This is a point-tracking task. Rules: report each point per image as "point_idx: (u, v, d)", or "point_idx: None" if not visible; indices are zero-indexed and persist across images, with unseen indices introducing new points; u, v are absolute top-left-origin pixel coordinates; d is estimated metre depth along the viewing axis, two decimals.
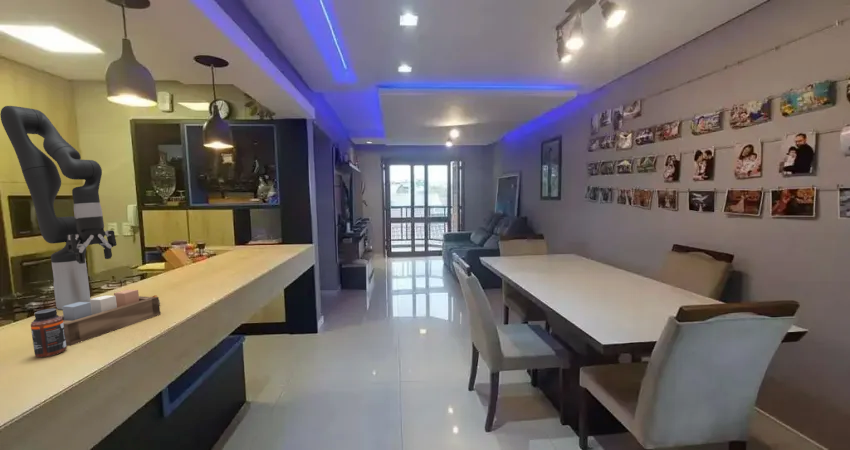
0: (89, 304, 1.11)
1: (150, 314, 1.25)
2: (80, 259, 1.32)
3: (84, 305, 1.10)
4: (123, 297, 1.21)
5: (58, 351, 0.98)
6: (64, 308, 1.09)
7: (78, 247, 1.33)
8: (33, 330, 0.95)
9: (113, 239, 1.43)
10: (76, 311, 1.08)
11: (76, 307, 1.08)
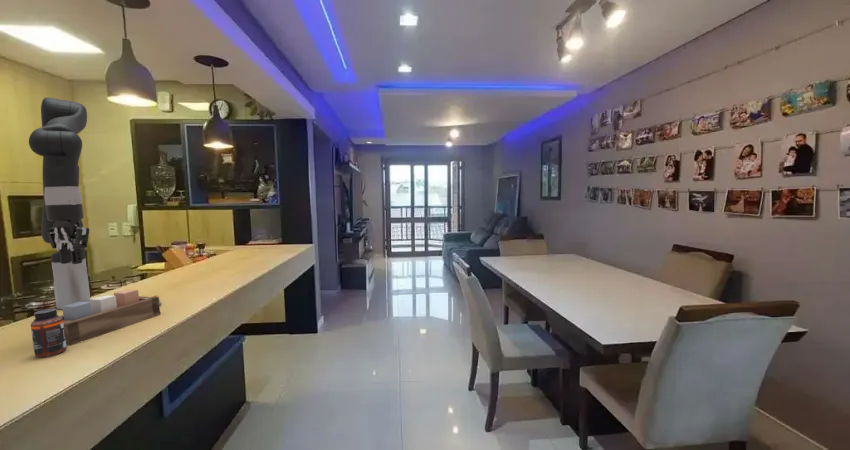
0: (89, 304, 1.11)
1: (150, 314, 1.25)
2: None
3: (84, 305, 1.10)
4: (123, 297, 1.21)
5: (58, 351, 0.98)
6: (64, 308, 1.09)
7: None
8: (33, 330, 0.95)
9: None
10: (76, 311, 1.08)
11: (76, 307, 1.08)
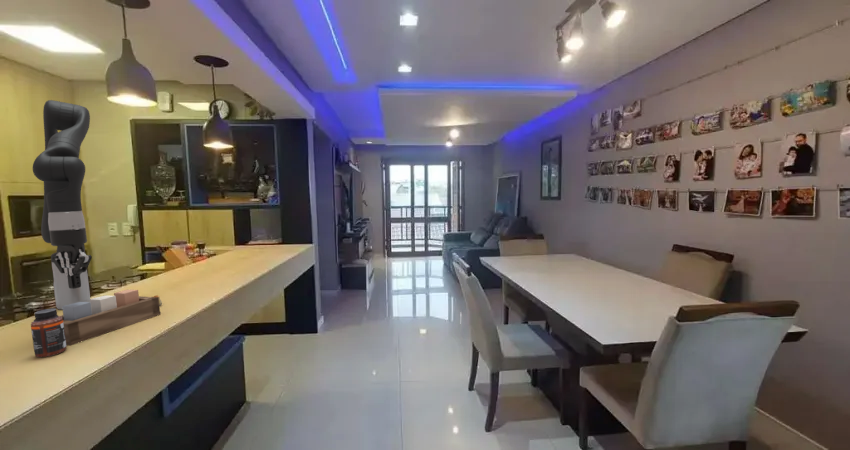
0: (89, 304, 1.11)
1: (150, 314, 1.25)
2: None
3: (84, 305, 1.10)
4: (123, 297, 1.21)
5: (58, 351, 0.98)
6: (64, 308, 1.09)
7: None
8: (33, 330, 0.95)
9: None
10: (76, 311, 1.08)
11: (76, 307, 1.08)
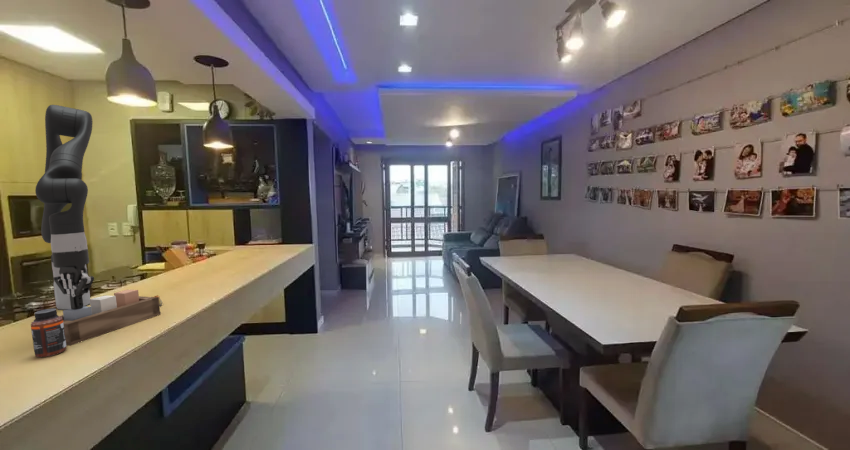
0: (90, 308, 1.12)
1: (150, 314, 1.25)
2: None
3: (85, 309, 1.10)
4: (123, 297, 1.21)
5: (58, 351, 0.98)
6: (65, 312, 1.09)
7: None
8: (33, 330, 0.95)
9: None
10: (76, 315, 1.08)
11: (77, 311, 1.08)
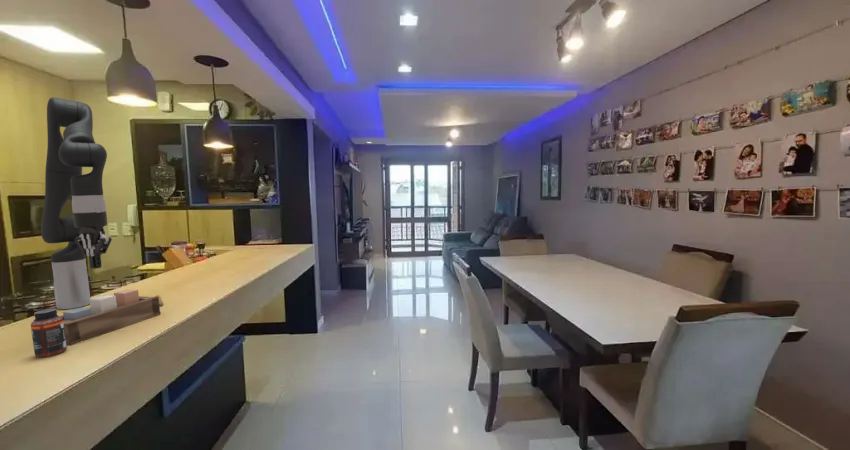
0: (90, 310, 1.12)
1: (150, 314, 1.25)
2: None
3: (85, 311, 1.10)
4: (123, 297, 1.21)
5: (58, 351, 0.98)
6: (65, 314, 1.09)
7: None
8: (33, 330, 0.95)
9: None
10: (76, 317, 1.08)
11: (77, 313, 1.08)
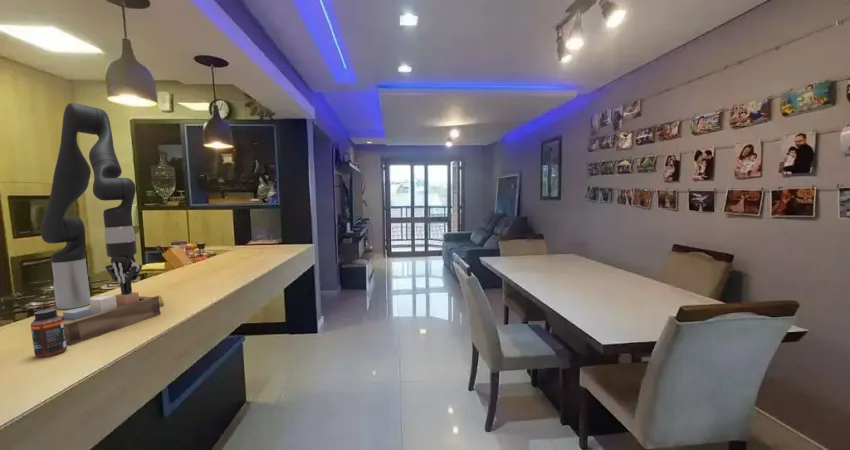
0: (90, 310, 1.12)
1: (150, 314, 1.25)
2: None
3: (85, 311, 1.10)
4: (123, 299, 1.21)
5: (58, 351, 0.98)
6: (65, 314, 1.09)
7: None
8: (33, 330, 0.95)
9: None
10: (76, 317, 1.08)
11: (77, 313, 1.08)
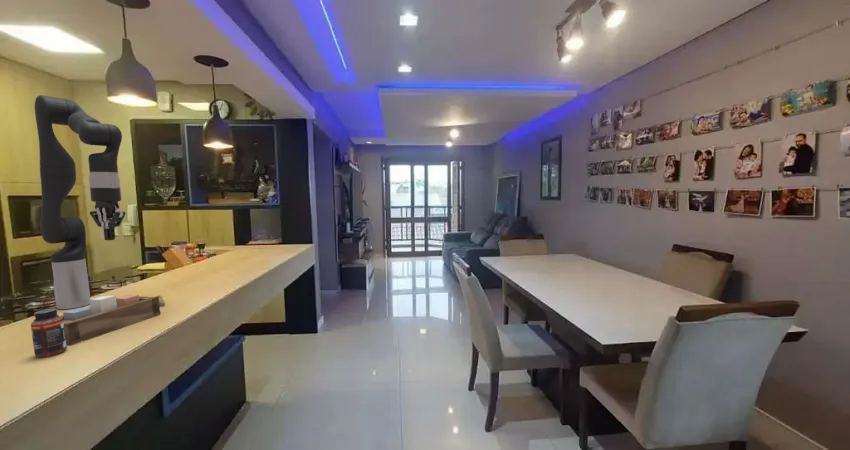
0: (90, 310, 1.12)
1: (150, 314, 1.25)
2: None
3: (85, 311, 1.10)
4: (124, 302, 1.21)
5: (58, 351, 0.98)
6: (65, 314, 1.09)
7: None
8: (33, 330, 0.95)
9: None
10: (76, 317, 1.08)
11: (77, 313, 1.08)
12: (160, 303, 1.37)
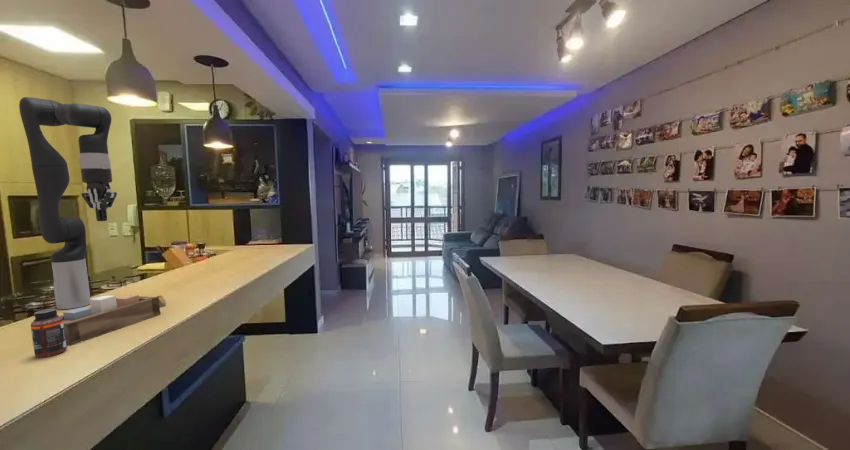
0: (90, 310, 1.12)
1: (150, 314, 1.25)
2: None
3: (85, 311, 1.10)
4: (124, 302, 1.21)
5: (58, 351, 0.98)
6: (65, 314, 1.09)
7: None
8: (33, 330, 0.95)
9: None
10: (76, 317, 1.08)
11: (77, 313, 1.08)
12: (161, 303, 1.37)
